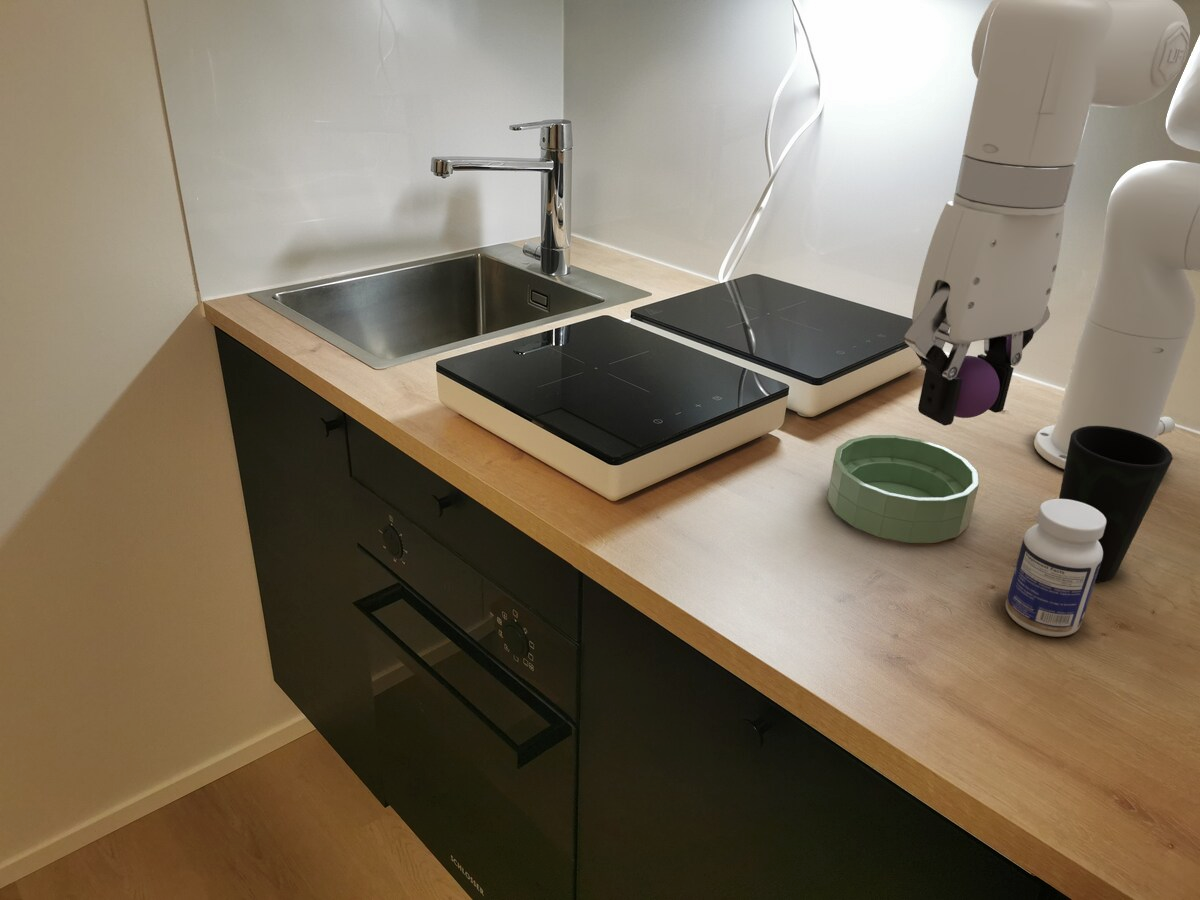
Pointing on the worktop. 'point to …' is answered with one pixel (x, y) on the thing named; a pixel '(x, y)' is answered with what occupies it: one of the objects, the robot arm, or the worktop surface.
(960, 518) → the bowl
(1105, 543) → the cup
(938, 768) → the worktop surface
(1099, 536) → the pill bottle
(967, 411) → the ball
